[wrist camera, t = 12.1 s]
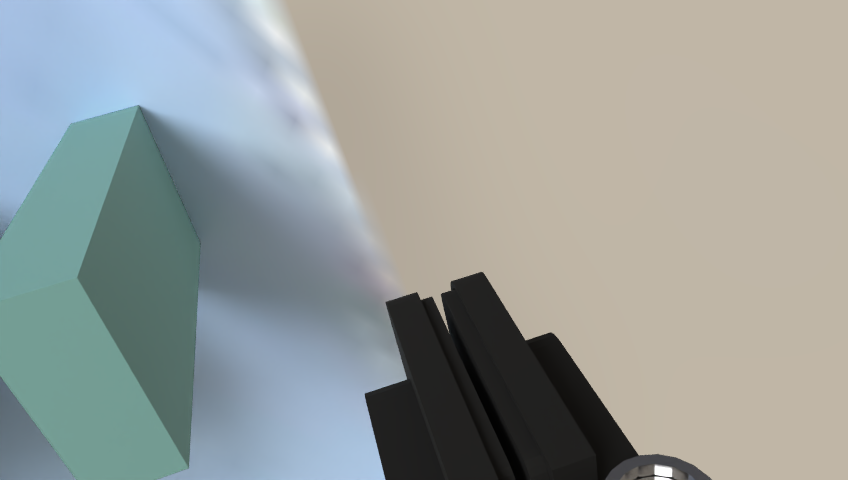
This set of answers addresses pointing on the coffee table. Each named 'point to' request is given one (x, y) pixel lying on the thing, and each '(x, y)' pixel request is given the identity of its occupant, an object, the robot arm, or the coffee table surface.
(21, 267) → the tile
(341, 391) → the coffee table surface
